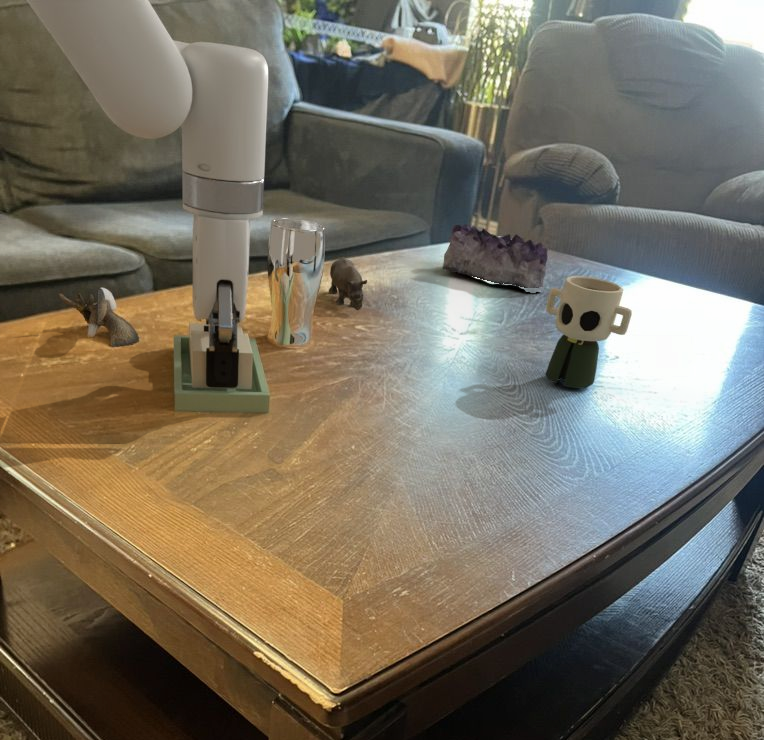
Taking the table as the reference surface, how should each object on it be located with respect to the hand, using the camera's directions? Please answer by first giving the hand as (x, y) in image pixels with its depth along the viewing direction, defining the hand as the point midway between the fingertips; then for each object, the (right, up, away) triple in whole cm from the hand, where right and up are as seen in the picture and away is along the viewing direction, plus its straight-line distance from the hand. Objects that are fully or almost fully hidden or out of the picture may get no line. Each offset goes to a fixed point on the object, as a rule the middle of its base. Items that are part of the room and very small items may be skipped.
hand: (220, 372), depth 83 cm
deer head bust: (-17, +6, +12) cm, 22 cm away
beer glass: (+5, +7, +19) cm, 21 cm away
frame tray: (-1, 0, +5) cm, 5 cm away
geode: (+37, +28, +61) cm, 76 cm away
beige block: (-2, +2, +8) cm, 9 cm away
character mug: (+42, +2, +19) cm, 46 cm away
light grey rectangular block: (0, -1, 0) cm, 1 cm away
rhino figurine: (+12, +17, +36) cm, 42 cm away
